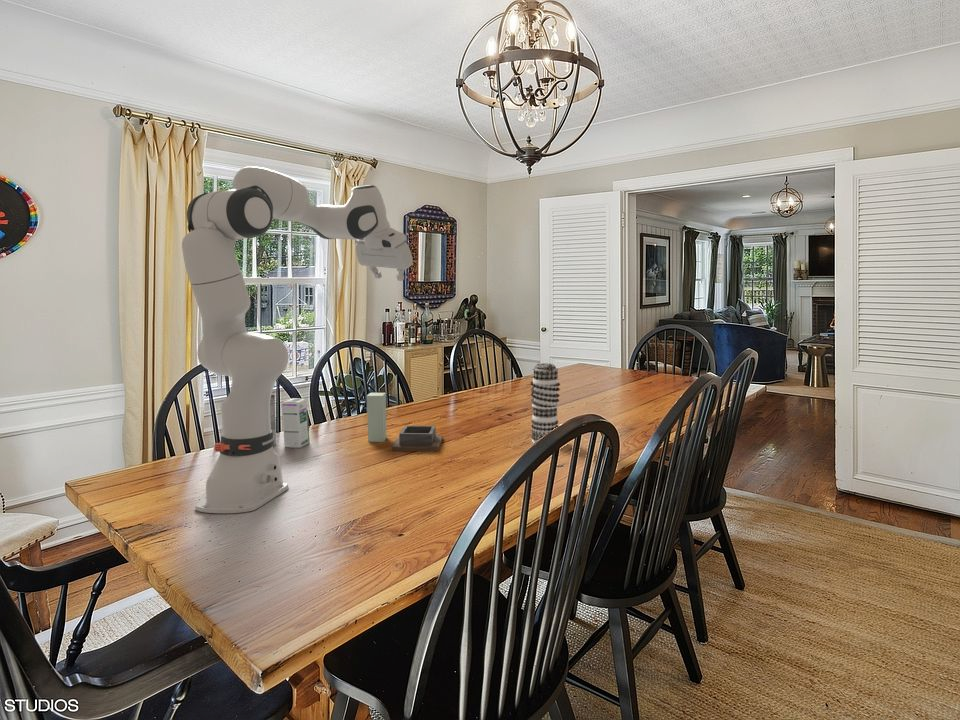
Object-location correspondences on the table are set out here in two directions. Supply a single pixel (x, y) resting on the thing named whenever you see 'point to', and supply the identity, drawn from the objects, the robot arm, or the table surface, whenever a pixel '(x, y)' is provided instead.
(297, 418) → the syrup box
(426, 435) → the dark grey square holder
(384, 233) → the robot arm
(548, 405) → the decorative candle
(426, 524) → the table surface
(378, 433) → the sage peg
